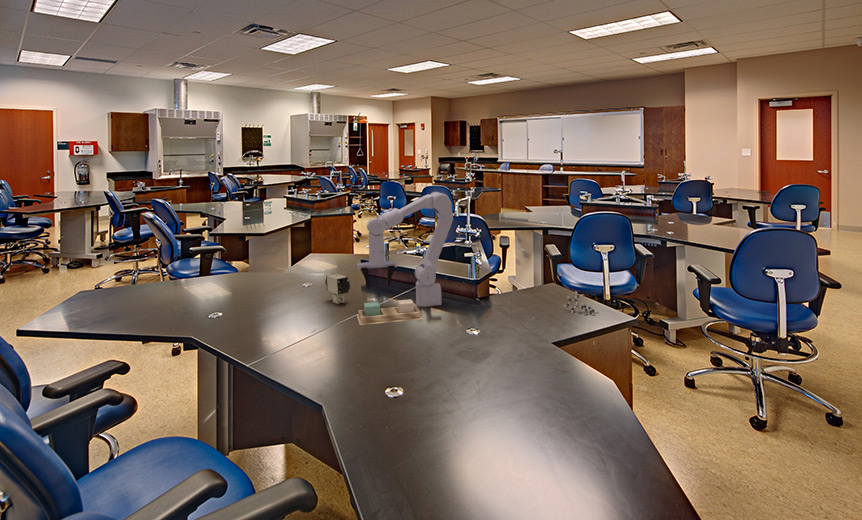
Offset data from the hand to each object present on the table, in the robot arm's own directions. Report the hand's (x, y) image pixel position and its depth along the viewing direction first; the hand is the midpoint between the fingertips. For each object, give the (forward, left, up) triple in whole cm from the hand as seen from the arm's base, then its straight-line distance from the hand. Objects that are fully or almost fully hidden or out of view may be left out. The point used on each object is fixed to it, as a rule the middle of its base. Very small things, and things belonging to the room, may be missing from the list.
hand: (378, 286), depth 187 cm
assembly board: (-2, +12, -9) cm, 15 cm away
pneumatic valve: (+14, -16, -10) cm, 23 cm away
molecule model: (-70, +24, -10) cm, 75 cm away
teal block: (+4, +12, -8) cm, 15 cm away
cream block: (-8, +12, -8) cm, 17 cm away
